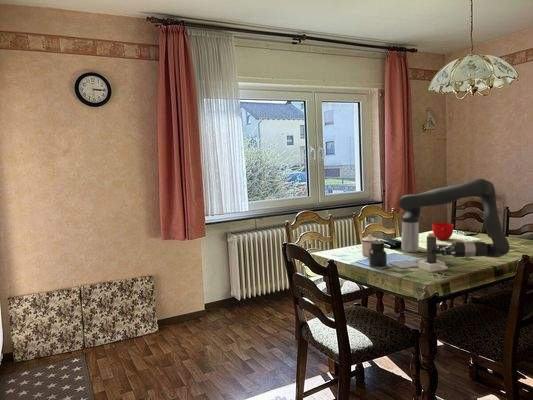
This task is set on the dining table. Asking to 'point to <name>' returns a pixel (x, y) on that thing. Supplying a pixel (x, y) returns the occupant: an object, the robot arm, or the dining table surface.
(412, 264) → the grey felt mat
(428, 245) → the black cable stub
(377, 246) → the ink bottle
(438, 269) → the square ring with handle
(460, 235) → the dining table surface
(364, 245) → the teacup with lid
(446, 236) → the ceramic cup
